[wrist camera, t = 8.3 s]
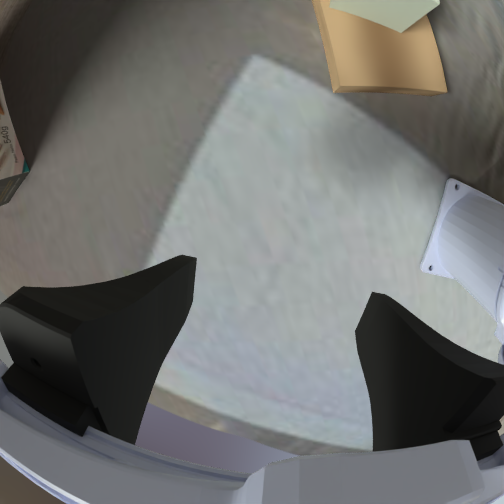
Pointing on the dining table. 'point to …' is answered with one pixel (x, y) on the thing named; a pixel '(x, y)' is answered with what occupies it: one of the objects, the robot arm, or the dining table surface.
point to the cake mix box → (9, 156)
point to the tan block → (379, 54)
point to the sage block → (387, 11)
